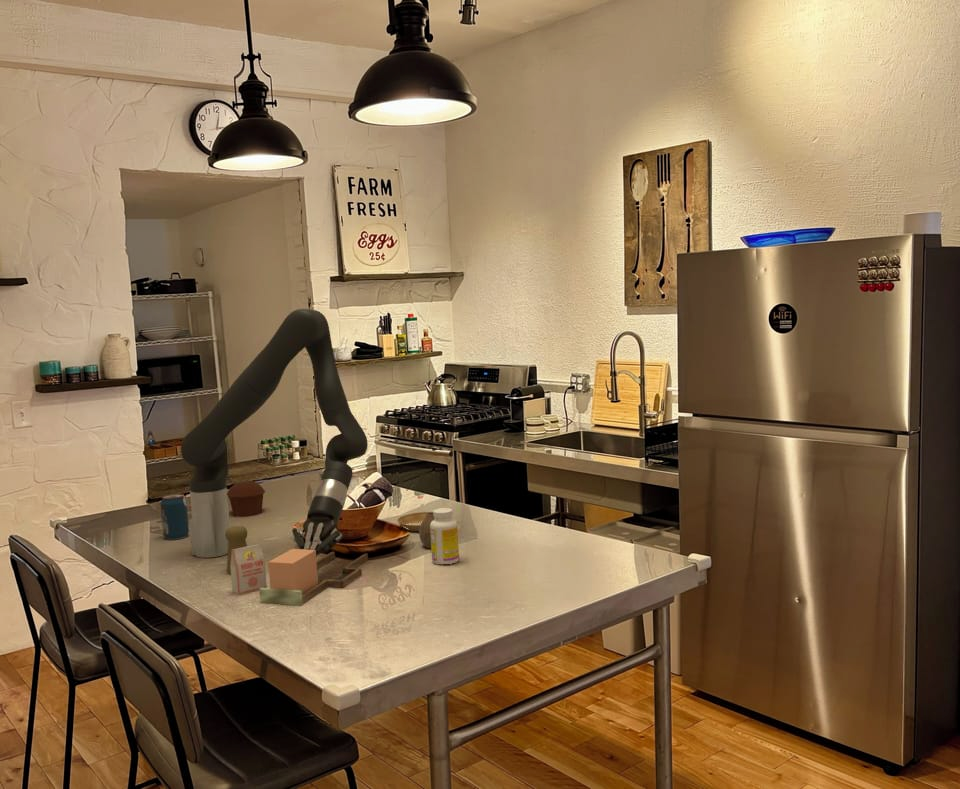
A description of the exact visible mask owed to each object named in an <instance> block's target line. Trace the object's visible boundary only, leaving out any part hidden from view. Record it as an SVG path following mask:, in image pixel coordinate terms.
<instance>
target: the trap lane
mask: <svg viewBox="0 0 960 789" xmlns="http://www.w3.org/2000/svg"><path fill="white" fill-rule="evenodd" d="M335 552H336V551H331V552H329V553H328V554H327V553H326V555H324V556H322V557H321V558H319V559H317V560H316V561H317V570H318V569H320V568H321V567H322V566H325V565H326V564H328V563H329V562H331V561H332V560H333V559H335V558H336V554H335ZM368 560H369V554H368V553H364V554H362V555H360V556H359V557H357V558H356V559H355V560H353V561H352V562H350V563H348V564H347V565H345V566H344V567H343V568H341V569H342V574H340V575H338V576H337V577H335V578H334V579H330V578H329V579H328V578H326V579H324V580H323V581H321V582H320V583H318V585H317V586H315V587H314V588H312V589H311V590H309V591H308V592H306V593H305V594H303V595H302V591H300V590H286V589H272V588H270V587H267V588H260V589H259V590H258V591H259V599H260V600H259V602H260V603H263V604H264V603H267V604H278V605H279V604H280V605H290V606H291V605H292V606H303V604H305V603H306V602H308V601H310V600H311V599H312V598H314V597H315V596H317V595H318V594H320V593H321V592H323V591H325V590H326V589H327V588H335V589H336V588H338V589H343V588H345V587H347V586H348V585H349V584H351V583H352V582H354V581H355V580H357V579H358V578H360V577H361V576H362V575H363V574H362V572H363V571H362V570H363V569H362V568H360V566H361V565H362V564H364V563H365V562H367V561H368ZM357 567H359V568H357Z"/></svg>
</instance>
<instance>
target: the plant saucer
mask: <svg viewBox="0 0 960 789" xmlns="http://www.w3.org/2000/svg"><path fill="white" fill-rule="evenodd" d="M430 512H431V511H421V512H413V513H409V514H405V515H402V516H400V517H398V518H397V520H396V521H397V523H398V524H399V525H400V526H401V527H402V526H404V527H406V528H408V529H409V530H410V532H413V531H419V530H420V526H421V525H406V524H409V523H411V524H412V523H419V522H420V523H421V521H422V522H423V520H424V519H425V517H426V515H427V513H430Z"/></svg>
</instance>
